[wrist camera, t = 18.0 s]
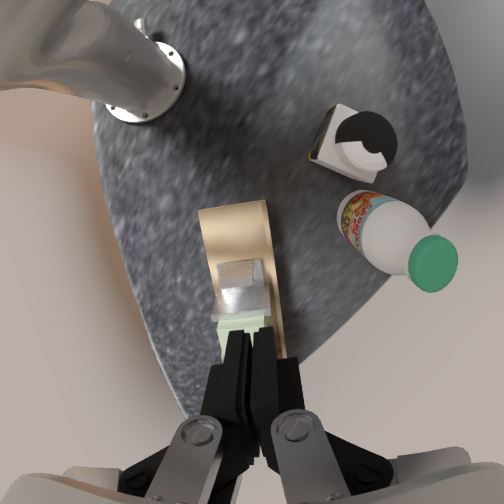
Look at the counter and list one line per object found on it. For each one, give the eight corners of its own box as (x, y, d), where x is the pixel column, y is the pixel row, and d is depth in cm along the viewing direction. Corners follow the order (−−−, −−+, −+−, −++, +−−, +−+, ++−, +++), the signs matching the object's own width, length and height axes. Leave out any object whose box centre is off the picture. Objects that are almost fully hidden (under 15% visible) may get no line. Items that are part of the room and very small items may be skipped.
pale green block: (225, 295, 41) (216, 329, 32) (263, 290, 40) (263, 325, 32) (230, 319, 42) (223, 356, 33) (267, 315, 42) (268, 352, 33)
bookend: (212, 264, 39) (203, 285, 33) (264, 256, 39) (265, 277, 32) (219, 296, 41) (212, 322, 34) (269, 290, 40) (271, 315, 33)
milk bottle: (383, 186, 36) (474, 214, 17) (386, 238, 39) (466, 300, 20) (332, 192, 37) (398, 226, 18) (337, 246, 39) (396, 320, 20)
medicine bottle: (324, 111, 34) (351, 92, 22) (371, 133, 34) (413, 126, 23) (306, 159, 36) (327, 159, 24) (354, 180, 36) (391, 189, 25)
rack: (199, 209, 38) (181, 224, 29) (265, 199, 37) (266, 211, 29) (231, 353, 45) (225, 391, 37) (285, 347, 45) (289, 386, 36)
